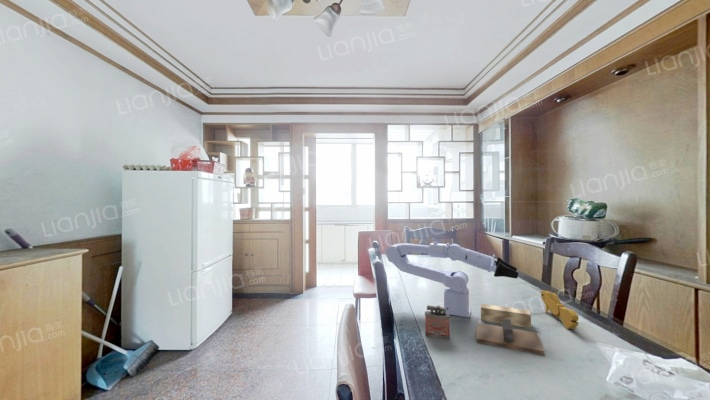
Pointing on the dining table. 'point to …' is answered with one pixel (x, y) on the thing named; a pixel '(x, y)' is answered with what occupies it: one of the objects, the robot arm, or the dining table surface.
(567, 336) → the dining table surface
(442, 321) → the lighter
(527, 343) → the ridge stand
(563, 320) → the decorative fish
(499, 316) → the pine batten
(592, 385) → the dining table surface
